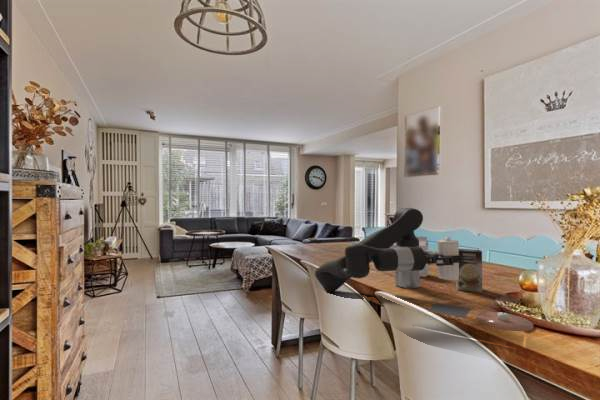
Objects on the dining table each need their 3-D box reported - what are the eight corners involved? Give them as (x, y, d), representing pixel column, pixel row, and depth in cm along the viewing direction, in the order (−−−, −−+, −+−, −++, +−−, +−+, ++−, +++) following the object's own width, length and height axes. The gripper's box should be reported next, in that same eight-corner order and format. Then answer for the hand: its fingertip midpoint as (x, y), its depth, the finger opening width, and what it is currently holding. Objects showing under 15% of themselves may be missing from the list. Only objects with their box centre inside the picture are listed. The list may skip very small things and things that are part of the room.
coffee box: (456, 290, 128) (456, 250, 128) (456, 286, 133) (455, 248, 134) (483, 292, 124) (482, 251, 124) (481, 288, 130) (480, 249, 130)
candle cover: (436, 278, 102) (435, 236, 102) (440, 274, 107) (439, 235, 107) (456, 280, 99) (456, 237, 99) (460, 277, 103) (459, 236, 104)
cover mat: (426, 312, 101) (426, 310, 101) (435, 303, 110) (435, 302, 110) (465, 319, 95) (465, 317, 95) (470, 309, 104) (470, 308, 104)
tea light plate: (472, 324, 91) (472, 313, 91) (479, 311, 102) (479, 301, 102) (533, 336, 82) (533, 324, 82) (533, 320, 94) (533, 309, 94)
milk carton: (426, 277, 151) (425, 237, 151) (410, 275, 155) (410, 236, 155) (428, 274, 157) (428, 236, 157) (414, 273, 161) (413, 235, 161)
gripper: (396, 266, 108) (442, 264, 110) (418, 275, 94) (470, 273, 96) (396, 244, 108) (441, 243, 110) (418, 250, 94) (469, 248, 96)
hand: (454, 257), depth 103 cm, fingers closed on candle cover, 6 cm apart
